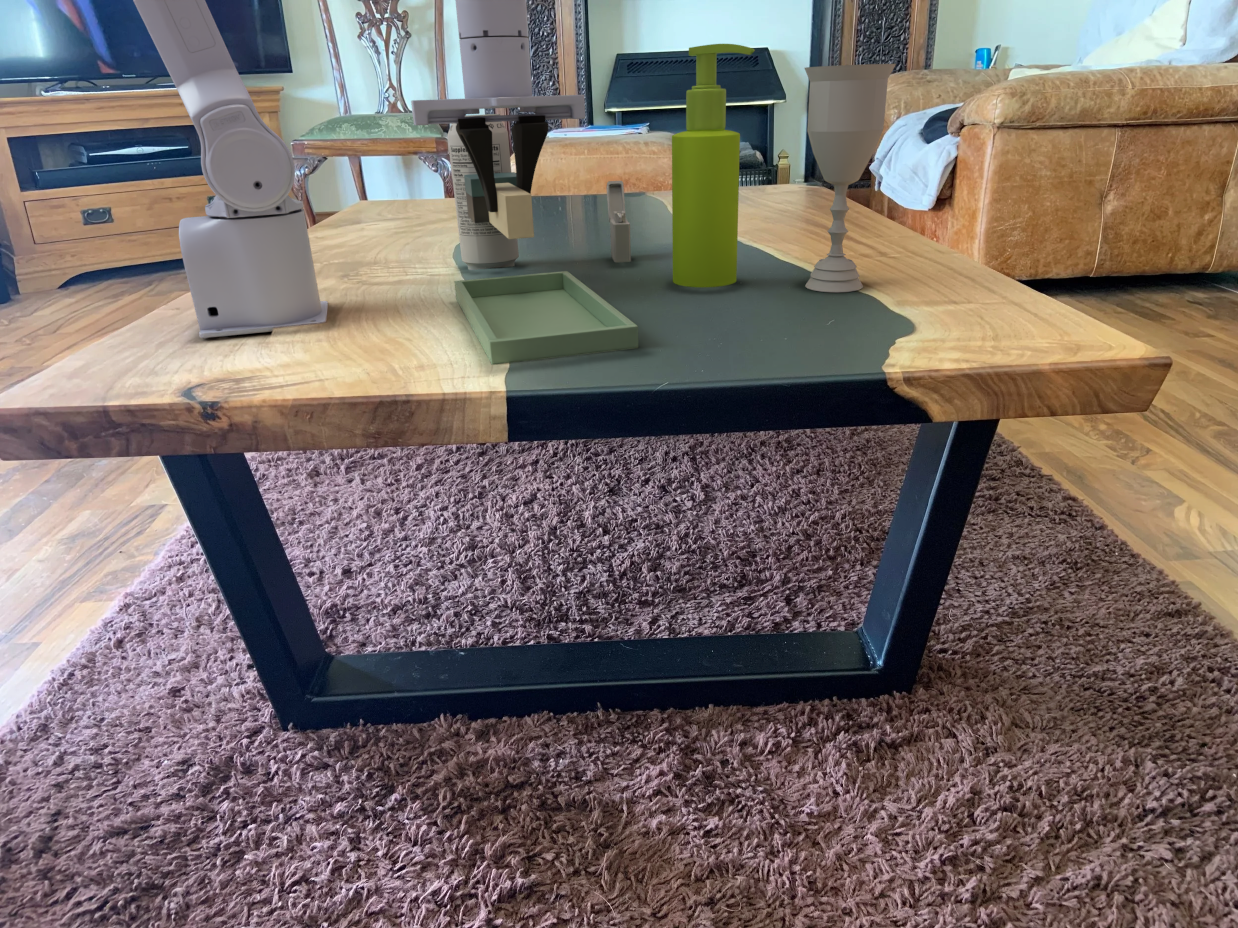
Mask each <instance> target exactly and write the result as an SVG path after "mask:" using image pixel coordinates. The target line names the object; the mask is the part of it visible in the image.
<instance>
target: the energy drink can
mask: <svg viewBox="0 0 1238 928" xmlns="http://www.w3.org/2000/svg"><path fill="white" fill-rule="evenodd" d="M496 115H501V113H491V114H489V113H487V114H466V116H465V117H470V116H496ZM456 125H457V123H453V124H450V127H449V129H448V132H447V144H448V152H449V161H450V169H451V170H450V171H451V178H452V187H453V196H454V203H455V213H456V221H457V230H458V239H459V246H460V247H459V248H460V255H461V261H462V263H465V264H466V266H467V270H469V271H473V270H474V271H475V270H485V269H496V268H509V267H516V265H515V262H516V260H518V258H519V257H520V254H519V253H520V252H519V242H518V239H508V238H507V237H506V236H505V235H503V234H502V233H501V232H500V231H499V230H498V229H497V228H495V227H494V226H493V225H492V224H491V223H490V222H487V223H474V222H473V221H472V220H471V219H470V218H469V217H468V209H467V199H466V189H465V180H464V175H472V174H477V172H476V170H475V168H474V165H473V163H472V161H471V159H470V157H469V154H468V152H467V151H466V149H465V147H464V145H463V143H462V141H461V139H460V138H459V136H458V133H457V131H456ZM486 125H489V129H490V130H491V131H492V149H493V169H494V173H508V172H512V163H511V153H510V152H511V151H510V140H509V132H508V130H507V128H506V126H505V124H504V123H503V121H502V122H486Z"/></svg>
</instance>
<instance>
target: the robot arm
mask: <svg viewBox="0 0 1238 928" xmlns="http://www.w3.org/2000/svg"><path fill="white" fill-rule="evenodd" d="M454 1H455V8H456V11H455V12H456V21H457V31H458V39H459V40H458V41H459V42H458V43H459V52H460V53H459V54H460V62H461V71H462V83H463V92H464V98H444V99H443V98H441V99H416V100H415V99H413V100H410V103H411V111H412V112H411V113H412V121H413V125H414V126H428V125H449V124H450V125H451V124H453V123H457V125H456V131H457V133H458V136H459V138H460V139H461V141H462V143H463V145H464V147H465V149H466V151H467V152H468V154H469V157H470V159H471V161H472V163H473V165H474V168H475V170H476V172H477V175H478V178H479V180H480V183H481V186H482V189H483V192H484V196H485V200H486V205H487V210H488V211H489V212H498V203H497V191H496V185H495V178H494V169H493V149H492V131H491V130H490V129H489V125H486V122H502V123H503V122H514V123H513V125H512V127H511V128H510V132H511V140H512V145H513V146H512V147H513V154H514V163H515V173H516V187H518V188H520V189H522V190H524V191H526V192H528V193H529V194H531V193H532V188H533V182H534V176H535V172H536V168H537V164H538V161H539V158H540V155H541V152H542V149H543V147H544V143H545V141H546V140H547V139H546V138H547V136H548V133H549V123H548V122H547V121H550V120H552V121H553V120H584V119H586V105H585V104H586V103H585V94H563V95H562V94H561V95H533V82H532V68H531V55H530V39H529V36H530V35H529V21H528V8H527V0H454ZM132 2H133V3H134V5H135V7H136V9H137V11H138V13H139V15H140V17H141V19H142V21H143V23H144V25H145V27H146V30H147V32H148V34H149V35H150V38H151V39H152V42H153V44H154V46H155V48H156V50H157V52H158V54H159V56H160V58H161V60H162V62H163V64H164V66H165V68H166V70H167V72H168V74H169V76H170V78H171V80H172V83H173V84H174V86H175V88H176V90H177V92H178V94H179V97H180V99H181V101H182V103H183V105H184V107H185V110H186V112H187V114H188V116H189V118H190V120H191V122H192V124H193V126H194V128H195V130H196V133H197V135H198V138H199V142H200V166H201V171H202V174H203V177H204V180H205V182H206V183H207V185H208V187H209V188H210V190H211V191H212V192H213V194H215V196H214V198H213V199H212V201H210V203H208V204H206V205H204V211H205V215H203V216H192V217H191V216H190V217H184V218H181V219H180V220H179V224H178V238H179V247H180V252H181V258H182V262H183V267H184V270H185V274H186V279H187V283H188V287H189V291H190V296H191V299H192V303H193V308H194V312H195V315H196V320H197V324H198V329H199V332H198V335H199V338H201V339H208V338H218V337H219V338H220V337H228V336H237V335H238V336H239V335H249V334H260V333H270V332H273V330H274V329H278V328H279V329H280V328H291V327H301V326H311V325H321V324H325V323H327V319H328V309H329V301H327V300H321V299H320V291H319V287H318V286H319V285H318V281H317V275H316V270H315V265H314V264H315V263H314V258H313V253H312V247H311V242H310V236H309V230H308V226H307V220H306V214H305V209H304V202H303V201H302V200H299V199H296V198H292V197H291V196H290V195H289V194H291V193H290V192H291V191H292V188H293V187H294V182H295V176H296V169H295V162H294V158H293V155H292V153H291V150H290V149H289V147H288V146H287V144H286V142H285V141H284V140H283V139H282V138H281V136H280V135H278V134H277V133H276V132H275V131H273V129H271V128H270V127H269V126H268V125H267V124H266V123H265V121H264V120H263V119H262V117H261V115H260V114H259V112H258V110H257V108H256V105H255V104H254V101H253V99H252V97H251V94H250V93H249V91H248V88H247V87H246V85H245V83H244V82H243V79H242V77H241V75H240V73H239V71H238V70H237V68H236V65H235V63H234V61H233V59H232V56H231V54H230V52H229V50H228V48H227V46H226V44H225V41H224V39H223V37H222V35H221V32H220V30H219V28H218V26H217V24H216V22H215V19H214V17H213V15H212V13H211V10H210V9H209V6H208V4H207V2H206V0H132ZM511 108H512V109H513V108H519V112H520V113H522V114H500V115H496V116H470V117H465V116H466V115H480V111H481V110H482V109H483V110H484V109H485V110H486V109H487V110H489V109H511ZM523 113H524V114H523ZM531 195H532V194H531Z"/></svg>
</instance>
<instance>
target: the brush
mask: <svg viewBox="0 0 1238 928" xmlns="http://www.w3.org/2000/svg"><path fill="white" fill-rule="evenodd" d="M494 178H495V185H496V191H497V203H498V212H489V211H488V210H487V205H486V200H485V196H484V192H483V189H482V186H481V183H480V180H479V178H478V175H477V174H472V175H464V180H465V189H466V199H467V209H468V217H469V218H470V219H471V220H472V221H473V222H474V223H487V222H490V223H491V224H492V225H493V226H494V227H495V228H497V229H498V230H499V231H500V232H501V233H502V234H503V235H505V236H506V237H507V238H508V239H517V240H518V239H519V240H520V239H531V238H535V228H534V215H533V214H534V213H533V212H534V211H533V200H532V199H533V198H532V194H529V193H528V192H526V191H524V190H522V189H520V188H518V187H516V171H511V172H508V173H494Z"/></svg>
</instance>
